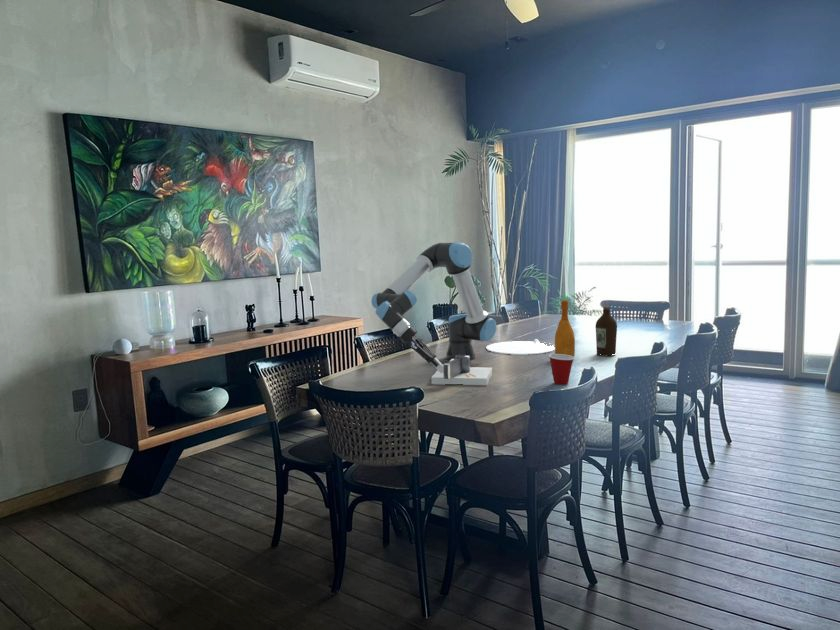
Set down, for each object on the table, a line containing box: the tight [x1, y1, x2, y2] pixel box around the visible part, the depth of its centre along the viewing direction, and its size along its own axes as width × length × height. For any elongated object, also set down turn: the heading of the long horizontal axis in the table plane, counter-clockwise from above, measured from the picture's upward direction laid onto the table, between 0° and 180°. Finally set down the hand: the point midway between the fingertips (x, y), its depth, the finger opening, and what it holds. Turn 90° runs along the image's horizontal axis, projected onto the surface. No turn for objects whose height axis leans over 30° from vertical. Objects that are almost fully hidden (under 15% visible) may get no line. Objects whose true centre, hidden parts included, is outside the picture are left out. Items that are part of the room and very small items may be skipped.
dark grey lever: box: [442, 354, 471, 379], centre depth 267 cm, size 21×6×7 cm, turn 153°
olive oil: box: [595, 306, 618, 355], centre depth 316 cm, size 11×11×25 cm
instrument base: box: [430, 359, 493, 386], centre depth 273 cm, size 22×24×7 cm
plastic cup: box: [548, 353, 576, 386], centre depth 259 cm, size 11×11×12 cm
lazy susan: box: [485, 338, 555, 356], centre depth 343 cm, size 40×39×3 cm
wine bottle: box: [554, 300, 576, 357], centre depth 307 cm, size 10×10×30 cm
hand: (443, 370), depth 261 cm, fingers closed
